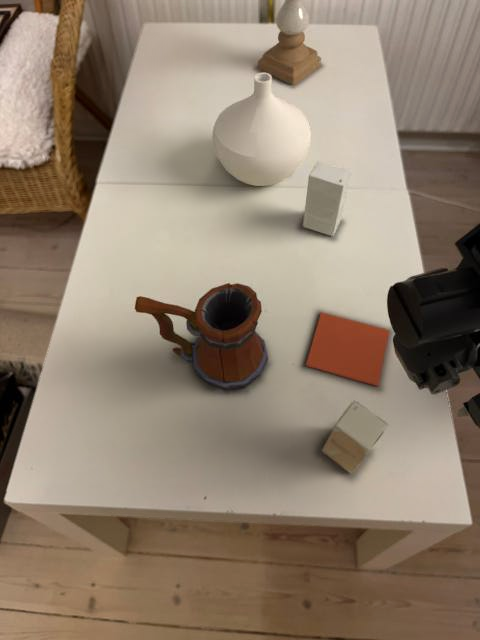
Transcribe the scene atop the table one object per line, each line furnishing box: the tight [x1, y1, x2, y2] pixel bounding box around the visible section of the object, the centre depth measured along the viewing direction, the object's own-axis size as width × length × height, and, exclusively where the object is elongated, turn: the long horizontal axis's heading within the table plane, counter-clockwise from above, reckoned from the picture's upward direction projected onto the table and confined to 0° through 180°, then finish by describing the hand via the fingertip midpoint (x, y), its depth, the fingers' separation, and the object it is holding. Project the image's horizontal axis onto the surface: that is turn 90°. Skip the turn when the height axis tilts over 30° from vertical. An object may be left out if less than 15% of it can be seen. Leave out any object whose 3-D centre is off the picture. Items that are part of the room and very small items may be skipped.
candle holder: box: [257, 0, 322, 86], centre depth 106 cm, size 11×11×24 cm
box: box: [321, 399, 390, 474], centre depth 62 cm, size 5×4×11 cm
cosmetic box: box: [302, 160, 352, 237], centre depth 84 cm, size 6×4×12 cm
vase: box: [211, 71, 312, 187], centre depth 89 cm, size 18×18×19 cm
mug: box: [134, 282, 268, 391], centre depth 69 cm, size 18×12×15 cm, turn 83°
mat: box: [305, 311, 390, 387], centre depth 75 cm, size 11×10×1 cm
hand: (440, 379), depth 58 cm, fingers open, 9 cm apart
